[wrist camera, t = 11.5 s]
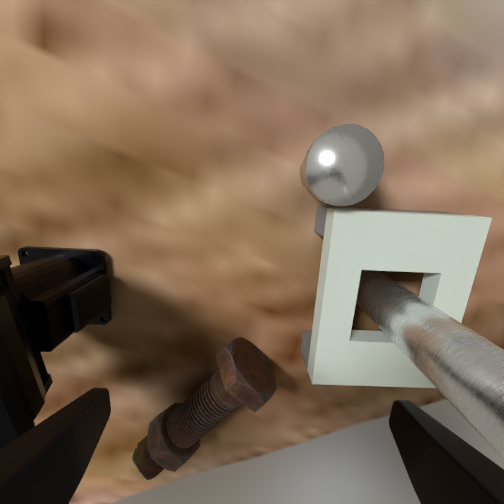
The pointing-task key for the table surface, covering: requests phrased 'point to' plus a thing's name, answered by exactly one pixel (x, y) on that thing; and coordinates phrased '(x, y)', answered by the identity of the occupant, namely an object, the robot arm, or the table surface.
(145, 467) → the bolt
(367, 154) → the short stub
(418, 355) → the long pin
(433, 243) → the square washer plate
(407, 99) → the table surface
